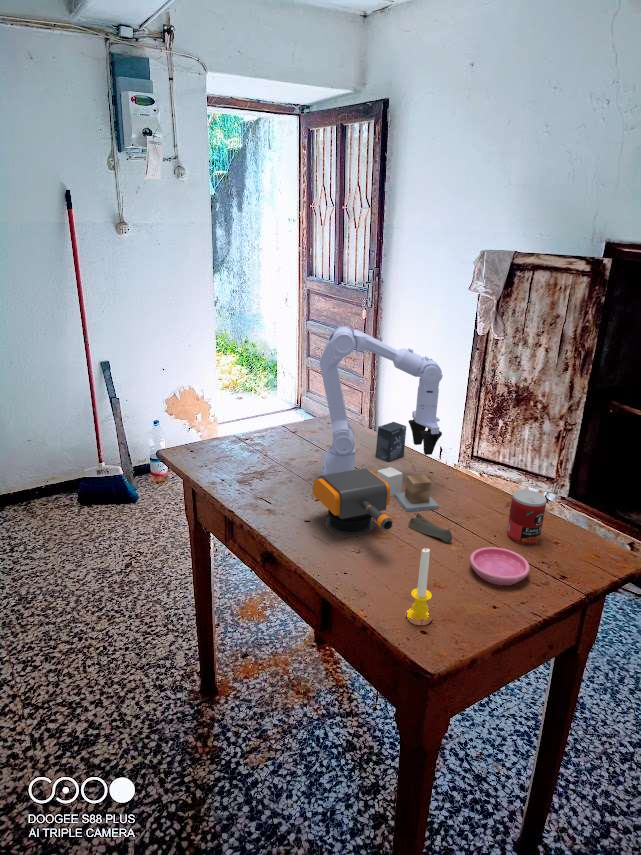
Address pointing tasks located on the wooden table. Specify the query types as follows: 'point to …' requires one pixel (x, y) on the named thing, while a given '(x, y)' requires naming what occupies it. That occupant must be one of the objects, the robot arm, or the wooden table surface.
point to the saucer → (499, 565)
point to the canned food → (526, 516)
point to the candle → (421, 590)
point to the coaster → (415, 507)
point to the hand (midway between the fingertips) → (422, 449)
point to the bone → (429, 528)
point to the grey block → (391, 479)
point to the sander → (353, 501)
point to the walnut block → (417, 489)
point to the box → (390, 441)
